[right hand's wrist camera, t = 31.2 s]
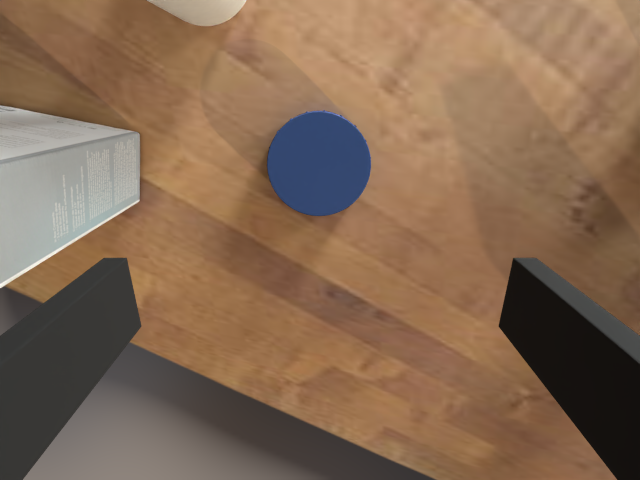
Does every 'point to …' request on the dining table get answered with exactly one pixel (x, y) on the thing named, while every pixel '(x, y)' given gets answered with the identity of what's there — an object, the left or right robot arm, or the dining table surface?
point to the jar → (201, 10)
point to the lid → (319, 163)
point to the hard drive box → (59, 184)
